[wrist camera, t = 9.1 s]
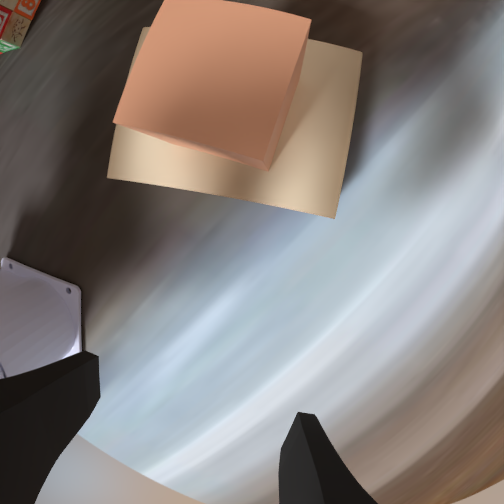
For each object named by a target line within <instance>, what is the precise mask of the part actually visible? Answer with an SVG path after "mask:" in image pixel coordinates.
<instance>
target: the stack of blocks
mask: <svg viewBox="0 0 504 504" xmlns="http://www.w3.org/2000/svg"><path fill="white" fill-rule="evenodd" d="M40 2H41V0H0V54H2V53H3V52H7V51H10V50H14V49H17V48H20V47H21V44H22V42H23V39H24V37H25V34H26V32H27V29H28V27H29V25H30V22H31V20H32V19H33V17H34V15H35V12H36V10H37V8H38V6H39V4H40Z"/></svg>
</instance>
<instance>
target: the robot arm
mask: <svg viewBox="0 0 504 504" xmlns="http://www.w3.org/2000/svg"><path fill="white" fill-rule="evenodd" d="M1 264H2V269H0V504H34V503H35V501H36V499H37V496H38V494H39V492H40V490H41V488H42V486H43V484H44V482H45V480H46V478H47V476H48V474H49V473H50V471H51V468H52V467H53V465H54V464H55V462H56V460H57V459H58V457H59V456H60V454H61V453H62V452H63V450H64V449H65V448H66V446H67V445H68V444H69V443H70V441H71V440H72V439H73V438H74V436H75V435H76V434H77V432H78V431H79V430H80V429H81V427H82V426H83V425H84V423H85V422H86V421H87V419H88V418H89V417H90V415H91V413H92V411H93V410H94V408H95V406H96V404H97V402H98V401H99V399H100V381H99V356H97V355H94V354H92V353H90V352H87V351H82V342H81V290H80V288H79V287H78V286H76V285H74V284H71V283H69V282H66V281H63V280H61V279H58V278H56V277H53V276H50V275H48V274H45V273H43V272H40V271H38V270H36V269H33V268H31V267H28V266H26V265H23V264H21V263H19V262H16V261H14V260H12V259H10V258H7V257H5V258H3V259H2V262H1ZM69 288H70V290H71V292H70V291H69ZM279 504H378V503H377V502H376V501H375V500H374V499H373V498H372V497H371V496H370V495H369V494H368V493H367V492H366V491H365V490H364V489H363V488H362V486H361V485H360V484H359V483H358V482H357V480H356V479H355V478H354V476H353V475H352V474H351V472H350V471H349V470H348V468H347V467H346V466H345V464H344V463H343V461H342V460H341V458H340V456H339V455H338V453H337V452H336V450H335V449H334V447H333V445H332V444H331V442H330V440H329V439H328V437H327V435H326V433H325V432H324V430H323V428H322V426H321V424H320V423H319V421H318V419H317V417H316V416H315V414H308V413H302V412H298V413H297V415H296V417H295V419H294V422H293V424H292V426H291V428H290V430H289V433H288V435H287V437H286V439H285V441H284V443H283V445H282V447H281V453H280V462H279Z"/></svg>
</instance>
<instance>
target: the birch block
mask: <svg viewBox="0 0 504 504" xmlns="http://www.w3.org/2000/svg"><path fill="white" fill-rule="evenodd" d="M149 30H150V27H143V30H142V32H141V35H140V38H139V41H138V45H137V48H136V51H135V54H134V57H133V61H132V64H131V67H130V71H129V74H128V78H129V75H130V73H131V70H132V68H133V66H134V63H135V61H136V58H137V56H138V54H139V51H140V49H141V47H142V45H143V42H144V40H145V38H146V36H147V34H148V32H149ZM362 54H363V52H360V51H356V50H353V49H349V48H345V47H341V46H337V45H333V44H329V43H325V42H321V41H316V40H311V39H308V40H307V45H306V50H305V54H304V59H303V64H302V69H301V74H300V78H299V82H298V84H297V87H296V90H295V93H294V96H293V99H292V102H291V105H290V108H289V111H288V114H287V117H286V120H285V123H284V126H283V129H282V132H281V135H280V138H279V141H278V144H277V147H276V150H275V153H274V156H273V159H272V162H271V165H270V168H269V171H265V170H261V169H258V168H255V167H252V166H249V165H245V164H242V163H239V162H236V161H232V160H229V159H225V158H222V157H219V156H215V155H212V154H208V153H204V152H201V151H197V150H193V149H190V148H186V147H182V146H178V145H174V144H171V143H168V142H166V141H163V140H160V139H158V138H155V137H152V136H149V135H147V134H144V133H141V132H138V131H136V130H133V129H130V128H127V127H124V126H121V125H118V124H116V128H115V133H114V138H113V144H112V149H111V155H110V161H109V167H108V174H107V178H111V179H119V180H126V181H133V182H140V183H147V184H153V185H160V186H166V187H172V188H178V189H185V190H191V191H196V192H202V193H208V194H214V195H219V196H225V197H230V198H236V199H241V200H246V201H252V202H257V203H262V204H267V205H272V206H277V207H282V208H287V209H291V210H296V211H301V212H306V213H310V214H315V215H319V216H324V217H328V218H333V219H335V216H336V211H337V207H338V202H339V197H340V192H341V187H342V182H343V177H344V172H345V167H346V161H347V156H348V150H349V145H350V139H351V133H352V127H353V121H354V114H355V107H356V101H357V94H358V86H359V79H360V71H361V62H362ZM128 78H127V81H128ZM126 83H127V82H126Z"/></svg>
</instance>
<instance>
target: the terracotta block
mask: <svg viewBox="0 0 504 504" xmlns="http://www.w3.org/2000/svg"><path fill="white" fill-rule="evenodd" d="M310 25H311V19H308V18H304V17H301V16H297V15H293V14H289V13H285V12H281V11H277V10H273V9H268V8H263V7H258V6H253V5H248V4H242V3H236V2H230V1H223V0H164V2H163V4H162V6H161V8H160V10H159V11H158V13H157V15H156V17H155V19H154V21H153V23H152V25H151V27H150V30H149V32H148V34H147V36H146V38H145V40H144V42H143V45H142V47H141V49H140V51H139V54H138V56H137V58H136V61H135V63H134V66H133V68H132V70H131V73H130V75H129V78H128V81H127V83H126V86H125V88H124V91H123V94H122V97H121V99H120V102H119V105H118V108H117V111H116V114H115V117H114V120H113V123H115V124H118V125H121V126H124V127H127V128H130V129H133V130H136V131H138V132H141V133H144V134H147V135H149V136H152V137H155V138H158V139H160V140H163V141H166V142H168V143H171V144H174V145H178V146H182V147H186V148H190V149H193V150H197V151H201V152H204V153H208V154H212V155H215V156H219V157H222V158H225V159H229V160H232V161H236V162H239V163H242V164H245V165H249V166H252V167H255V168H258V169H261V170H265V171H269V168H270V165H271V162H272V159H273V156H274V153H275V150H276V147H277V144H278V141H279V138H280V135H281V132H282V129H283V126H284V123H285V120H286V117H287V114H288V111H289V108H290V105H291V102H292V99H293V96H294V93H295V90H296V87H297V84H298V82H299V78H300V74H301V69H302V64H303V59H304V54H305V50H306V45H307V40H308V35H309V30H310Z"/></svg>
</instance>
